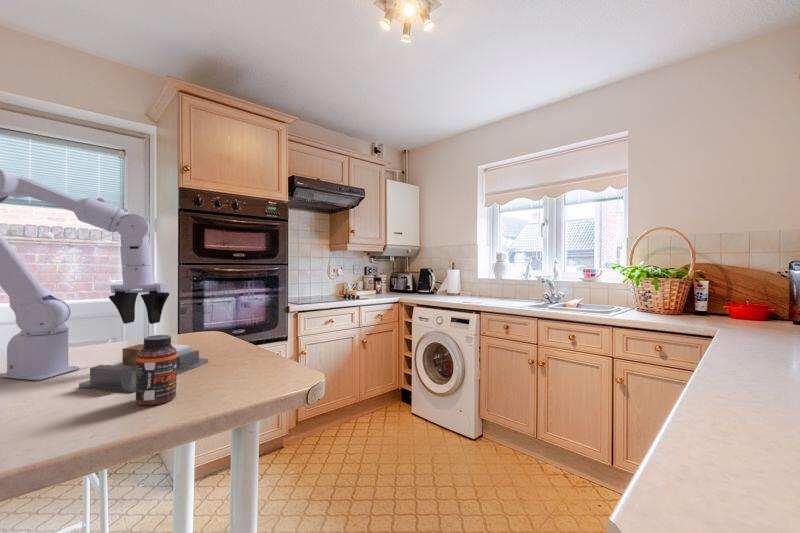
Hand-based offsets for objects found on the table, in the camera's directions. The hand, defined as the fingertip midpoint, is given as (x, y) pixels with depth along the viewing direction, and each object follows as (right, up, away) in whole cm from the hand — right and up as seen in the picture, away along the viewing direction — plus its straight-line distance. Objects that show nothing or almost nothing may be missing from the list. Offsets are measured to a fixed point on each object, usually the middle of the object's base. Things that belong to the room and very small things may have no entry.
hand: (141, 322), depth 83 cm
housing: (-1, -10, 0) cm, 10 cm away
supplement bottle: (+18, -11, -21) cm, 30 cm away
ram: (+8, -9, 0) cm, 12 cm away
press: (+7, -10, -7) cm, 14 cm away
